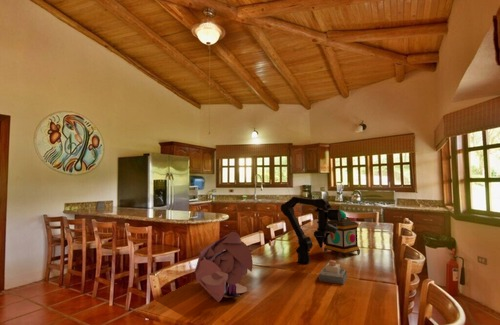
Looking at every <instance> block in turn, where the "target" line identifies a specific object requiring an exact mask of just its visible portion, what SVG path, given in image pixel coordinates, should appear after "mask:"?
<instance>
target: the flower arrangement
mask: <svg viewBox="0 0 500 325" xmlns="http://www.w3.org/2000/svg"><path fill="white" fill-rule="evenodd" d="M199 252H200V253H199V255H198V258H197V262H196V265H195V270H194V274H195V280H196V281H197V282H198V283H199V285H201V287H203V288H204V289H205V291H206V292H207V293H208V294H209V295H210V296H211V297H212V298H213V299H214V300H215V301H216V302H217V303H220V301H221V300H222V299H223V297H224V298H233V299H234V298H240V297H241V295H240V294H244V293H246V292H247V291H248V288H247V287H246V286H244V285H242V284H240V282H241V281H242V279H243V276H247V273H248V271H250V272H251V273H252V272H253V263H254V262H253V256H252V252H251V250H250V248H249V246H248V245H247V244H246V243H245V242H244V241H243V240H242V239H241V237H240V235H239V233H238V232H236V231H230V232H229V233H228V234H226V235H225V236H223V237H222V238H220V239H218V240H215V241H213V242H212V243H210V244H209V245H208V246H206V247H205V248H204V249H202V250H201V251H199Z"/></svg>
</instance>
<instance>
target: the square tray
mask: <svg viewBox="0 0 500 325" xmlns="http://www.w3.org/2000/svg"><path fill="white" fill-rule="evenodd" d="M347 273H348V271H346V268H343V267H340V273H339V274H337V273H330V272H326V265H324V266H323V267H322V268H321V270H320V272H319V274H318V281H319V282H322V283H323V282H324V283H330V284H335V285H336V284H337V285H343V286H344V284H345V283H346V280H347V278H348V274H347Z"/></svg>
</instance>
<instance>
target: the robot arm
mask: <svg viewBox="0 0 500 325" xmlns="http://www.w3.org/2000/svg"><path fill="white" fill-rule="evenodd" d="M297 204H301V205H308V206H313V207H314V208H316V209H315V210H314V212H316V213H317V221H316V223H317V229H316V230H315V231H314V232H313V236H314V238H315V239H316V242H317V244H318V246H319V248H321V249H322V248H323V246H325V245H326V242H327V238H328V235H329V234H330V232H332V233H334V234H335V233H336V232H337V230H338V227H337V225H336V224H334V225H331V224H329V221H330V220H331V221H340V220H341V213H340V209H335V208H333V207H332V206H331V205H330V202H329V200H328V199H327V198H308V197H301V196H300V197H299V196H293V197H291V198H290V199H289V200H287V201H286V202H285V203H282V204H281V205H280V211H281V213H282V214H283V215H284V216H285V218H287V219H288V221H289V223H290V225H291V227H292V230H293V231H294V233H295V235H296V237H297V240H298V241H297V242H298V243H297V244H298V247H297V248H296V249H295V251H296V254H297V262H296V263H297V264H303V265H308V264H309V263H310V262H311V255H310V251H311V249H312V248H313V245H314V244H313V241H312V239H311V237H310V236H306V235H305V233H304V231H303V229H302V228H303V227H302V226H301V225H300V223H299V221H298V219H297V217H296V216H295V210H294V208H295V207H296V205H297Z"/></svg>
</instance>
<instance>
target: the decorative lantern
mask: <svg viewBox="0 0 500 325" xmlns="http://www.w3.org/2000/svg"><path fill="white" fill-rule="evenodd" d="M339 210H340V209H339ZM340 213H341V220H340V221H331V220H328V221H329V224H331V225H334V224H336V225H337V227H338V230H337V232H336V233H335V234H334V233H332V232H330V234H329V235H328V238H327V242H326V245H324V248H323V250H324V251H323V252H324V253H325V254H326V253H327V252H328V251H332V252H335V253H339V254H342V257H343V258H344V259H345V258H346V254H350V253H354V252H356V254H357V255H361V254H360V253H361V249H360V247H359V245H358V227H359V223H358V222H356V221H355V220H352V219H351V218H349V217H347V213H346V212H344V211H343V210H340Z"/></svg>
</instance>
